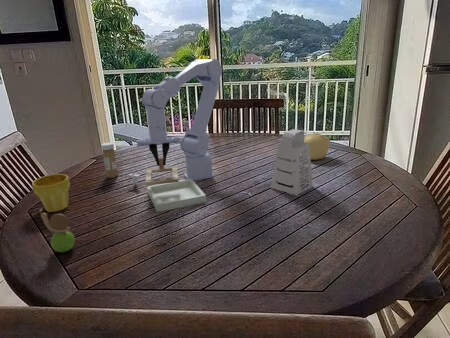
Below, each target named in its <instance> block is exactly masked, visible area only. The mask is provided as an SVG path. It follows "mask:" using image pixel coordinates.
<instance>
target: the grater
mask: <svg viewBox="0 0 450 338" xmlns="http://www.w3.org/2000/svg"><path fill="white" fill-rule="evenodd" d="M304 135H305V131H304V130H301V129H295V128H294V129H293V128H292V129H291V130H287V131H285V132H283V135H282V142H281V143H278V144H277V147H276V155H275V159H274V167H273V172H272V178H271V185H270V189H271V188H274V189H277V190H276V191H278V190H281V191H285V192H288V193H291V194H295V195H297V194H299V193H301V192H302V191H304V190H305V189H307V188H309V187H310V186H312V185H313V186H314V184H313V175H312V174H313V173H312V164H311V163H312V161H311V160H312V159H310V150H309V143H304ZM293 138H294V140H293ZM302 153H303V154H302ZM307 153H308V156H307ZM305 154H306V156H305ZM301 182H303V183H301ZM279 183H280V184H279ZM304 183H305V184H304ZM306 183H307V184H308V185H307V184H306ZM283 184H284V185H283ZM285 185H286V186H285ZM289 186H290V187H289ZM291 186H292V187H291ZM274 189H273V190H274ZM309 189H310V188H309ZM281 191H280V192H281ZM291 194H290V195H291ZM301 194H302V193H301Z"/></svg>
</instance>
